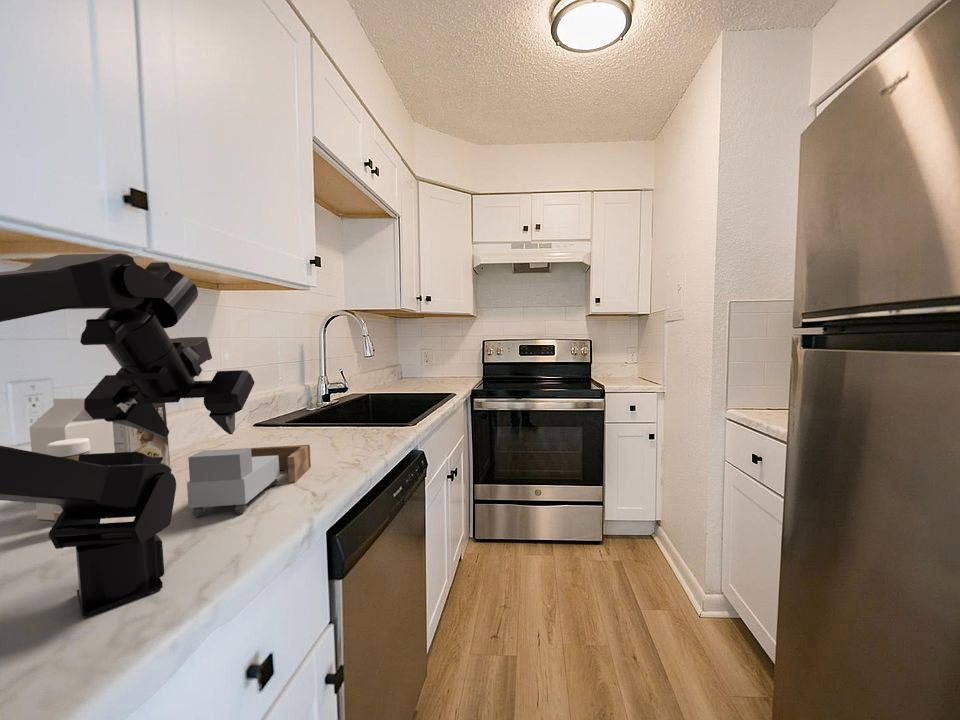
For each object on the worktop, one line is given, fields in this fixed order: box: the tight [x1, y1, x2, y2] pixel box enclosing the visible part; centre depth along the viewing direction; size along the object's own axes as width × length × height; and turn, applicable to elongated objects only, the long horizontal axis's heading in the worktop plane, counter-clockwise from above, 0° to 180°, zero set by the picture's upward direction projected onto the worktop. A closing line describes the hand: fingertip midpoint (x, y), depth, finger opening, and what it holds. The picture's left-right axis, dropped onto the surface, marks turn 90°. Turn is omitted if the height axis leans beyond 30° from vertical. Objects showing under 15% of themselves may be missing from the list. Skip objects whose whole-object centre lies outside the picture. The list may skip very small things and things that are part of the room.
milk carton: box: [29, 397, 115, 521], centre depth 69 cm, size 7×7×19 cm
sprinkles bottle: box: [47, 438, 90, 523], centre depth 62 cm, size 5×5×14 cm
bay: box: [250, 444, 312, 484], centre depth 84 cm, size 10×14×5 cm
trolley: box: [186, 447, 281, 518], centre depth 72 cm, size 15×8×10 cm, turn 6°
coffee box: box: [112, 403, 171, 468], centre depth 82 cm, size 9×6×16 cm
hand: (199, 433), depth 61 cm, fingers open, 9 cm apart
